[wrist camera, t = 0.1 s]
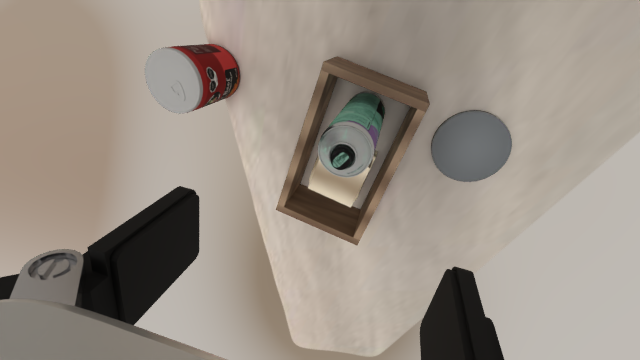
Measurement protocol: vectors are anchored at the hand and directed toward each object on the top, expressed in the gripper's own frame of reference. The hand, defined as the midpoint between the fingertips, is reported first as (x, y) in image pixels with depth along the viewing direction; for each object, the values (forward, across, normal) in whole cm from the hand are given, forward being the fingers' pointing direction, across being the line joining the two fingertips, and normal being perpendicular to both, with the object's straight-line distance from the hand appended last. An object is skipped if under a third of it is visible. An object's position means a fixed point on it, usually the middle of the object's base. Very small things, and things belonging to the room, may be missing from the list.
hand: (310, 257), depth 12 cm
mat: (+37, -14, +4) cm, 40 cm away
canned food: (+37, +25, +2) cm, 45 cm away
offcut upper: (+35, +3, +12) cm, 37 cm away
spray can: (+37, +2, +3) cm, 37 cm away
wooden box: (+37, +2, +8) cm, 38 cm away
